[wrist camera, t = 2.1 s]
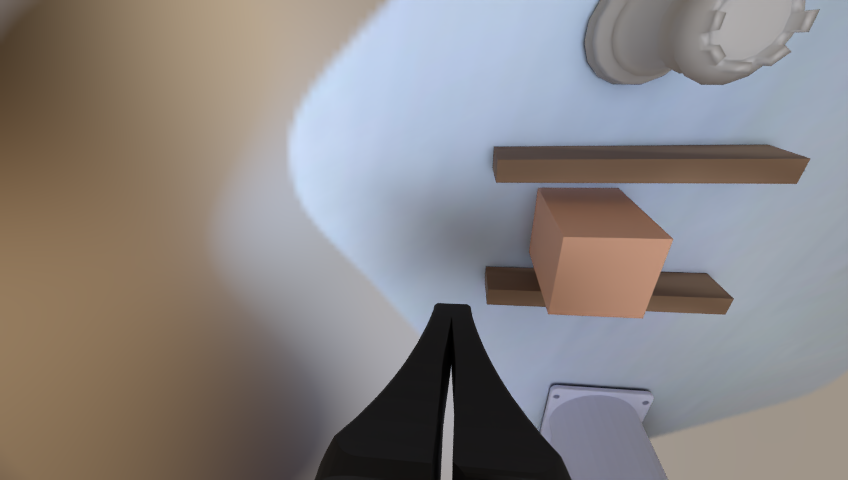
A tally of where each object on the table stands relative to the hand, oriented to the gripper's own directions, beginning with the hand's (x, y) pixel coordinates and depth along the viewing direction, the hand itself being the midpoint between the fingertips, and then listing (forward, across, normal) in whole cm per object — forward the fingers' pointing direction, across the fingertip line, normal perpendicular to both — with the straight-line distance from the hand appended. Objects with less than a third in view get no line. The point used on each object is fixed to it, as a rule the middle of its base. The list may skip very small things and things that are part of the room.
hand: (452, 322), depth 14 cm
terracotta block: (+9, -7, 0) cm, 12 cm away
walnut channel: (+9, -9, 0) cm, 13 cm away
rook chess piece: (+10, -8, -10) cm, 16 cm away
